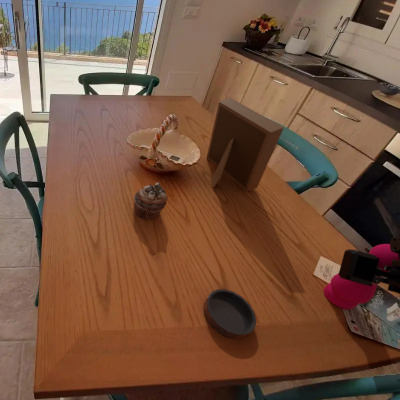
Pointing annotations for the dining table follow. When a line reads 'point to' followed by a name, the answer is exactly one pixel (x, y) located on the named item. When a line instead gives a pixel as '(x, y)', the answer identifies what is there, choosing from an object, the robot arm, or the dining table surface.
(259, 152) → the photo frame
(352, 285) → the pepper mill
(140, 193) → the cupcake
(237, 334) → the tray
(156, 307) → the dining table surface
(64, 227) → the dining table surface
